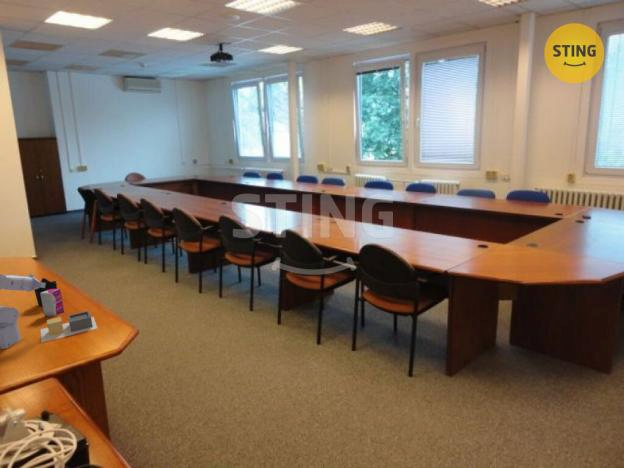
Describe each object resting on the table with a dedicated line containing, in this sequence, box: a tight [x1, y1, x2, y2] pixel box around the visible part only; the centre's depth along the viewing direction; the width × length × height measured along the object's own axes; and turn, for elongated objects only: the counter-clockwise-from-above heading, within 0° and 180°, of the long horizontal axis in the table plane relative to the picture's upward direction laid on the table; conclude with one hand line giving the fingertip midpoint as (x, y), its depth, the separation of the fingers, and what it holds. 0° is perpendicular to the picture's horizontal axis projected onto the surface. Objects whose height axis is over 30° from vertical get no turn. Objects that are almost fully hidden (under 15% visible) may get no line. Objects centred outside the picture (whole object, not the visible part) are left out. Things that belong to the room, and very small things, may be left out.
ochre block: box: [46, 316, 64, 336], centre depth 179 cm, size 5×5×5 cm
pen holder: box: [33, 280, 58, 307], centre depth 211 cm, size 9×9×10 cm
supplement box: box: [40, 288, 65, 318], centre depth 198 cm, size 6×6×12 cm
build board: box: [40, 316, 98, 344], centre depth 182 cm, size 20×14×1 cm
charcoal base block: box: [67, 310, 93, 332], centre depth 183 cm, size 8×8×4 cm
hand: (49, 285), depth 187 cm, fingers open, 7 cm apart
